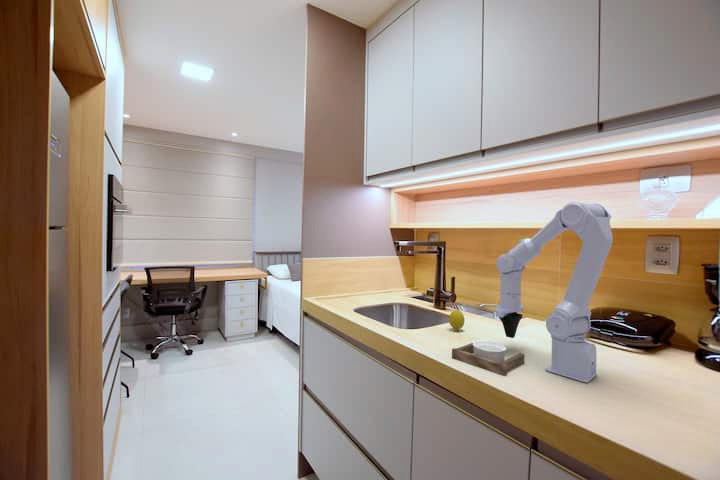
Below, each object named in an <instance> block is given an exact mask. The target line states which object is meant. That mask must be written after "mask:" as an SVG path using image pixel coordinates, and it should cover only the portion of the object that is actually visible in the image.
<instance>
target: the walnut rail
mask: <svg viewBox="0 0 720 480" xmlns="http://www.w3.org/2000/svg"><path fill="white" fill-rule="evenodd" d="M474 342H475V341H474ZM474 342H471V343H468V344H466V345H463V346H460V347H458V348H451V358H452V359H455V360H457V361H461V362H463V363H467V364H470V365H472V366H475V367H478V368H481V369H484V370H487V371H490V372H492V373H496V374H498V375H502V376H503V377H504V376H507V375H508V372H511V371H513V370H514V369H516V368H518V367H519V366H522V365H524V364H525V353H522V352H519V353H517V354H516V355H513V356H510V357H509V358H507V359H504V361H503V362H501V363H500V362H497V361H493V360H490V359H487V358H484V357H481V356H478V355H474V347H473V343H474Z"/></svg>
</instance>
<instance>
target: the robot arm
mask: <svg viewBox="0 0 720 480" xmlns="http://www.w3.org/2000/svg"><path fill="white" fill-rule="evenodd" d="M611 218H612V214H610V212H609V211H608V210H607V209H606V208H605V207H604V206H603V205H601V204H599V203H588V202H587V203H585V202H579V201H570V202H567V204H566V205H564V206H563V207H562V208H560V209H559V210H557V211H556V214H555V215H554V217H553V218H552V219H550V220H549V222H548V223H547V224H545V226H543V227H542V228H541V229H540V230H539V231H538V232H537V233H536V234H534V236H533V237H531V238H528V237H527V238H524V239H523V238H522V239H520V240H519V241H518V244H517V245H516V246H515V247H513V248H511V249H510V250H509V251H508V252H507V253H506V254H505V253H503V254H499V257H497V259H496V262H495V265H496V268H497V270H498V272H500V273H499V274H500V279H499V280H500V281H499V282H500V286H499V287H500V289H499V290H500V291H499V293H500V298H499V300H500V301H499V302H500V304H498V305H496V308H497V309H495V317H497V318H499V319H500V322H501V323H502V326H503V329H504V334H505V336H506V337H507V338H511V339H514V338H515V337H516V333H517V330H518V327H519V323H520V321H521V319H522V318H523V314H522V313H519V312H525V305H524V304H522V303H521V302H522V301H521V299H522V295H521V294H522V289H521V288H522V285H521V284H522V283H521V282H522V279H521V278H522V277H523V272H524V270H525V269H526V265H527V264H528V263H530V262H531V261H532V260H533V259H534V258H535V259H536V257H538V256H539V255H541V253H542V247H543V246H545V245H546V244H547V243H549V242H551V241H552V240H554V239H555V238H557V237H559V235H560V234H562V233H563V232H565V231H573V232H574V233H575V234H576V235H577V236H578V237H579V239H580V240H581V242H582V247H581V249H580V252H579V255H578V257H577V261H576V262H575V265H574V268H573V271H572V274H571V278H570V280H569V282H568V285H567V288H566V290H565V293H564V296H563V299H562V300H561V302H559V303H558V304H557V305H556V306H555V307H554V309H553V311H552V313H551V314H550V315H548V317H547V318H546V321H545V328H546V330H547V332H548V333H549V334H550V338H551V364H550V365H548V367H546V368H545V371H546V372H550V373H551V374H552V373H553V374H556V375H559V376H562V377H567V378H570V379H573V380H575V381H576V380H577V381H580V382H583V383H589V382H591V381H592V380H593V379H594V378H595V377H596V376H597V375H598V373H597V346H596V344H594V343H592V342H588V341H586V334H587V333H589V331H590V330H591V324H592V323H591V315H592V311H591V309H589V304H590V302H591V300H592V297H593V294H594V291H595V290H596V287H597V284H598V281H599V279H600V277H601V274H602V272H603V269H604V266H605V264H606V261H607V259H608V256H609V252H610V251H611V248H612V246H613V242H614V238H613V231H612V228H611V223H610V220H611Z"/></svg>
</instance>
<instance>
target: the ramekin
mask: <svg viewBox="0 0 720 480" xmlns="http://www.w3.org/2000/svg"><path fill="white" fill-rule="evenodd" d="M472 343H473V342H472ZM473 347H474V353H473V354H474V355H478V356H481V357H484V358H487V359H490V360H493V361H497V362H500V363H501V362H503V361H505V360H506V359H505V356H506V351H507V347H506V346H505V345H504V344H502V343H499V342H495V341H490V340H476V341H474V343H473Z"/></svg>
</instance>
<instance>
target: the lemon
mask: <svg viewBox="0 0 720 480" xmlns="http://www.w3.org/2000/svg"><path fill="white" fill-rule="evenodd" d="M448 321H449V325H450V327H451V328H452V329H454V330H455V331H459V329H462V328H463V327H464V326H465V325H464V324H465V316H464V313H463V312H462V311H460V310H459V309H454V310H453V311H451V312H450V314H449V318H448Z"/></svg>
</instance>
